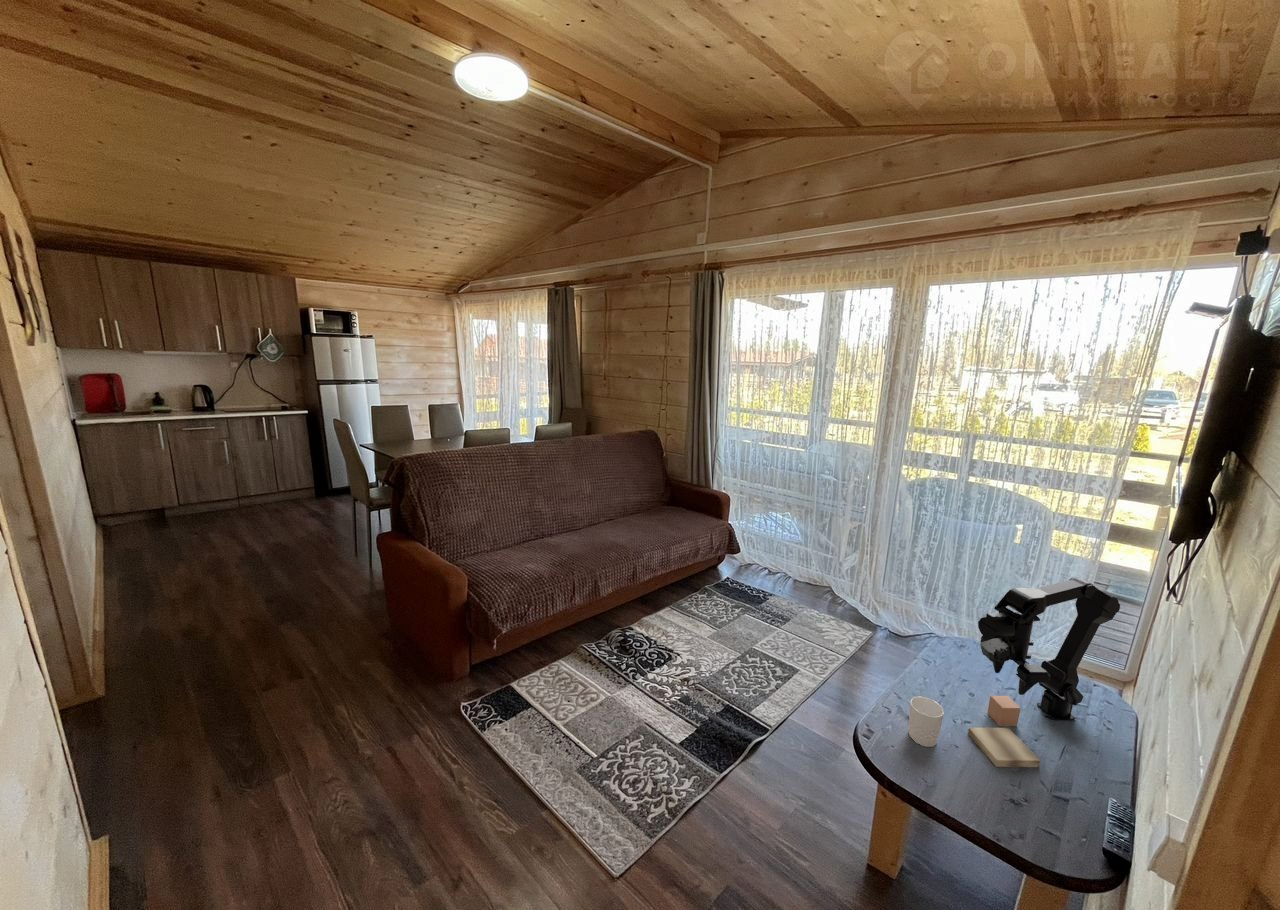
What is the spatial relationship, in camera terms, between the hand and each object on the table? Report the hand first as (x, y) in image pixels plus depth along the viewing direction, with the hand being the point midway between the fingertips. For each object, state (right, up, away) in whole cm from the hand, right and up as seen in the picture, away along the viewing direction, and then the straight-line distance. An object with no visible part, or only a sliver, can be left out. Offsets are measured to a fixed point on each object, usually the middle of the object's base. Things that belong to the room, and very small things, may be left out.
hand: (1008, 683), depth 138 cm
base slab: (-8, -14, -8) cm, 18 cm away
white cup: (-27, -13, -4) cm, 30 cm away
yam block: (0, -12, +2) cm, 12 cm away
